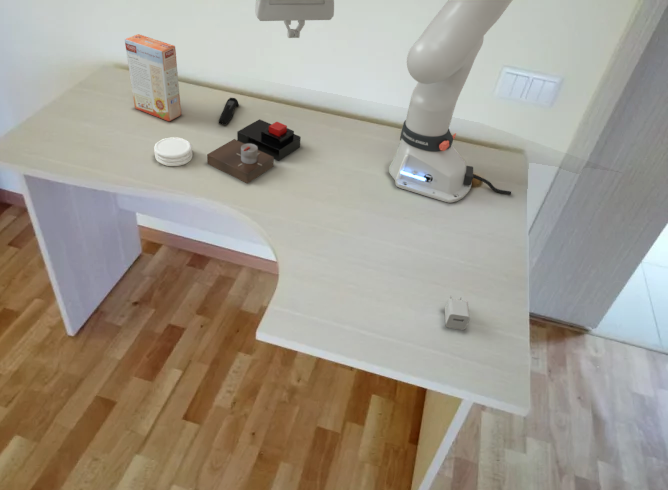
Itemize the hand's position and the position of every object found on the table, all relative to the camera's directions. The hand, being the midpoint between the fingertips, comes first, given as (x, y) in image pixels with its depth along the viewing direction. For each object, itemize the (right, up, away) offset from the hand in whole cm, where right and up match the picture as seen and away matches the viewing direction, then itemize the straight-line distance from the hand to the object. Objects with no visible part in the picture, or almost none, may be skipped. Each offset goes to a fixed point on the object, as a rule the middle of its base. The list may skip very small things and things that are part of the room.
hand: (293, 37), depth 141 cm
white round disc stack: (-32, -31, +4) cm, 45 cm away
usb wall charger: (+33, -72, -32) cm, 85 cm away
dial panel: (-14, -33, +3) cm, 36 cm away
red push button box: (-7, -25, +12) cm, 29 cm away
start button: (-4, -23, +7) cm, 25 cm away
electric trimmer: (-20, -14, +23) cm, 34 cm away
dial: (-12, -32, 0) cm, 34 cm away
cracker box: (-41, -13, +22) cm, 49 cm away
